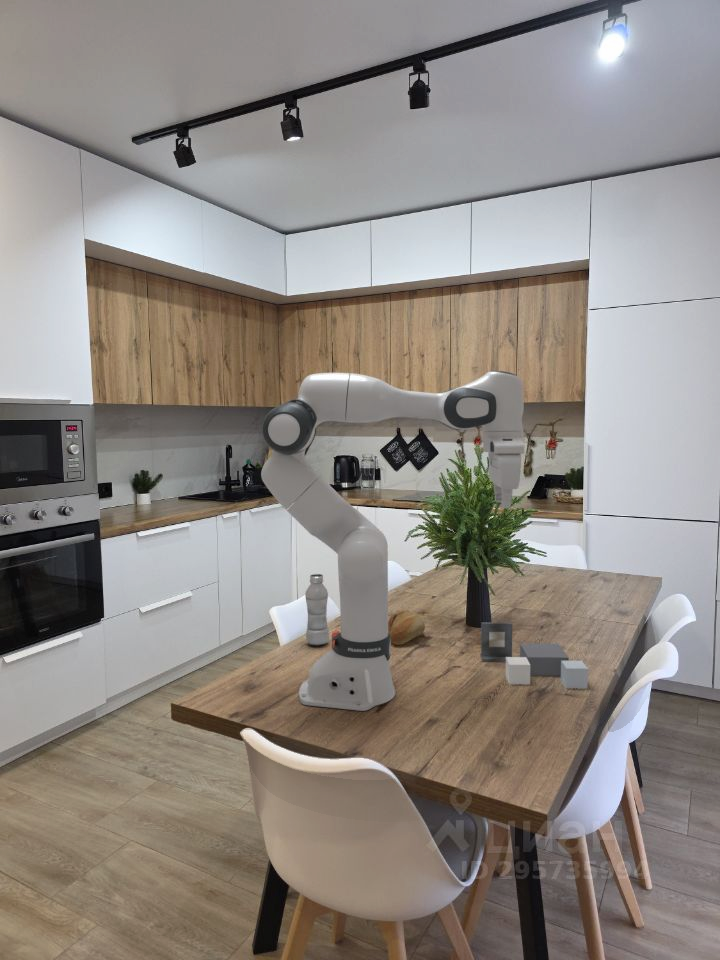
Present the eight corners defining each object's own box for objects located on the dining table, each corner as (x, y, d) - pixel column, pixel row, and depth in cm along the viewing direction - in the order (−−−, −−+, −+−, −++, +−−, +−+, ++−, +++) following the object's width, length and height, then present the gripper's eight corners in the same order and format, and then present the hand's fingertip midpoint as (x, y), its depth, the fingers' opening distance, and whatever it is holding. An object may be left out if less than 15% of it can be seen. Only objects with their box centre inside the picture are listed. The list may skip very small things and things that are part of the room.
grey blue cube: (566, 688, 155) (566, 668, 154) (560, 680, 160) (561, 660, 159) (587, 689, 155) (587, 668, 154) (581, 680, 160) (581, 660, 159)
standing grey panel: (482, 661, 172) (482, 625, 171) (480, 656, 176) (480, 620, 175) (512, 661, 172) (513, 625, 171) (510, 656, 176) (510, 620, 175)
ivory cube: (509, 684, 158) (509, 664, 157) (505, 676, 163) (505, 657, 162) (530, 684, 157) (530, 664, 157) (525, 676, 162) (526, 657, 162)
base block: (527, 676, 163) (527, 657, 162) (519, 661, 173) (520, 643, 172) (568, 677, 162) (568, 657, 162) (558, 662, 172) (558, 643, 172)
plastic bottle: (334, 643, 187) (333, 575, 185) (316, 650, 182) (315, 579, 180) (318, 638, 191) (317, 571, 189) (301, 644, 186) (299, 575, 184)
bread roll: (378, 644, 186) (378, 617, 185) (401, 629, 199) (401, 604, 198) (408, 650, 181) (408, 622, 181) (430, 634, 194) (430, 608, 193)
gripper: (482, 442, 157) (482, 499, 159) (495, 446, 137) (495, 511, 138) (509, 442, 157) (508, 499, 158) (526, 445, 137) (525, 511, 138)
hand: (502, 505), depth 148 cm, fingers open, 8 cm apart
